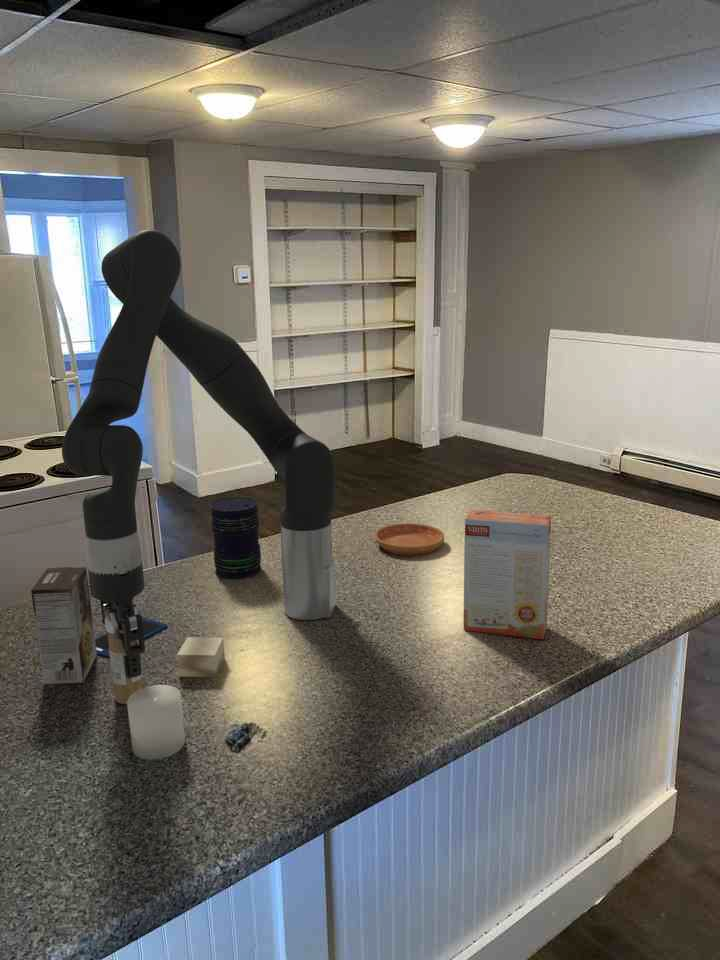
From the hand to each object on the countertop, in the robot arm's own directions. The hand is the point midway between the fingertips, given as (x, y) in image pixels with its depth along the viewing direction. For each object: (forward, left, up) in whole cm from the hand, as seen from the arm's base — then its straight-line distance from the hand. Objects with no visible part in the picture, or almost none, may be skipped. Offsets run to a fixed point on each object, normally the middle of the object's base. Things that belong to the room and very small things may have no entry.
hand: (126, 664), depth 117 cm
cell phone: (+9, -19, -6) cm, 22 cm away
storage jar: (-2, -51, -6) cm, 51 cm away
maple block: (-8, -10, -6) cm, 14 cm away
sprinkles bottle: (0, 0, -6) cm, 6 cm away
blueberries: (-20, +9, -6) cm, 23 cm away
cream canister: (-9, +11, -5) cm, 15 cm away
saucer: (-37, -70, -6) cm, 79 cm away
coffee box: (+13, -7, -6) cm, 16 cm away
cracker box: (-57, -29, -6) cm, 64 cm away
